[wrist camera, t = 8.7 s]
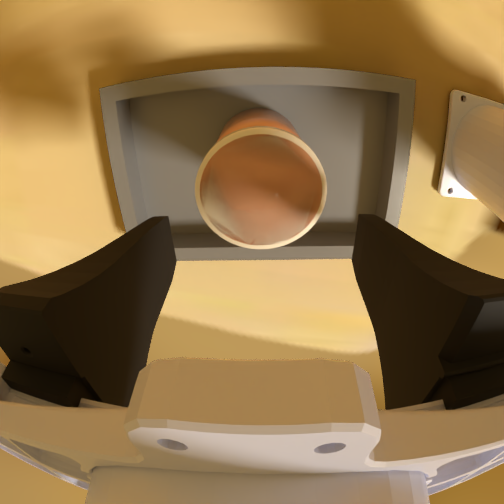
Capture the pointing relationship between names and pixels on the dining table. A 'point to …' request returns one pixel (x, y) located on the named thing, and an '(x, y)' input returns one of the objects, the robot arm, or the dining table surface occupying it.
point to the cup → (260, 182)
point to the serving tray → (304, 121)
